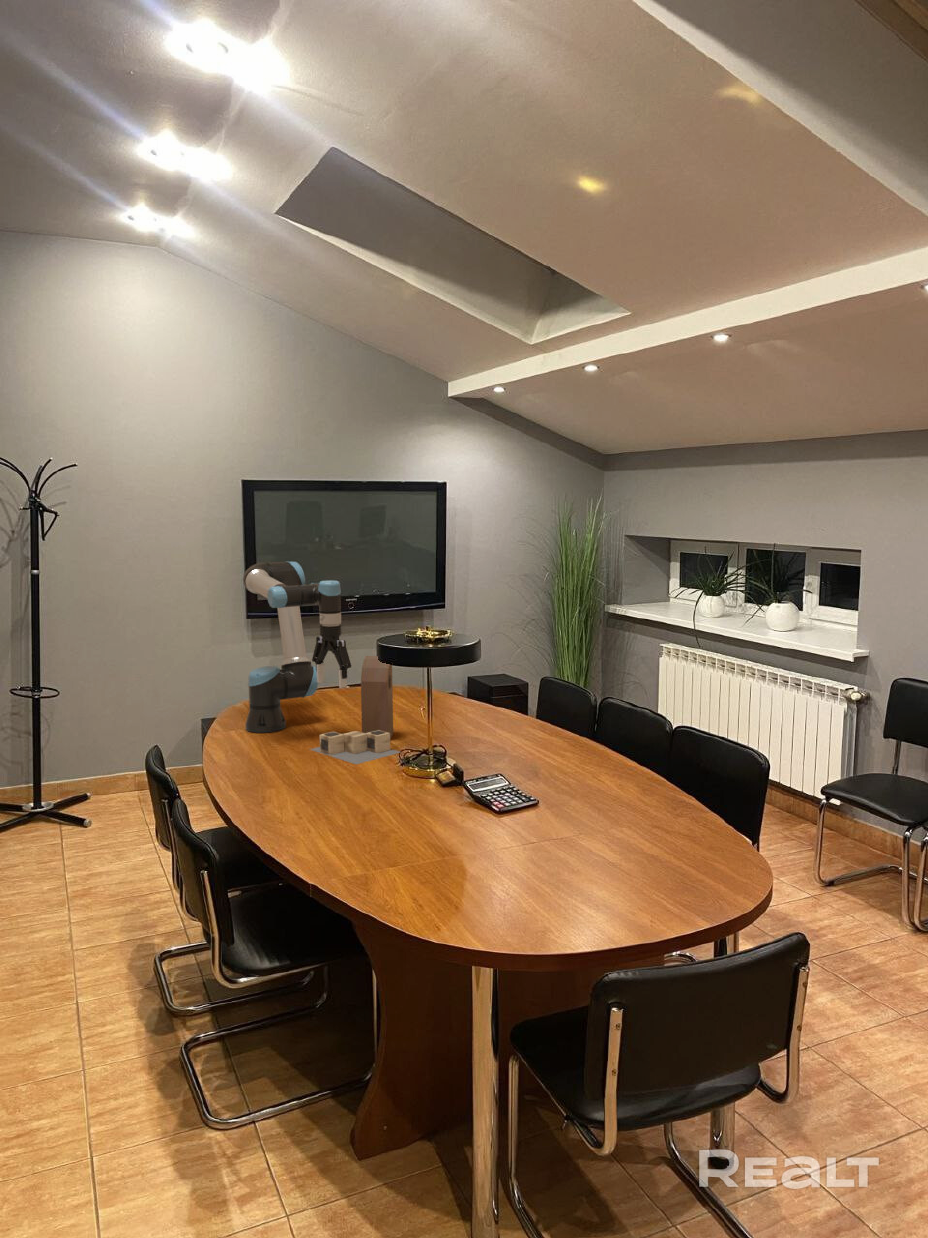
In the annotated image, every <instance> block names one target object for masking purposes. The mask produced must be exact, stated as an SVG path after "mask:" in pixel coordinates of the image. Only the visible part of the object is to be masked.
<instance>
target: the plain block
mask: <svg viewBox="0 0 928 1238" xmlns="http://www.w3.org/2000/svg"><path fill="white" fill-rule="evenodd" d="M342 734H343V735H344V751H345V752H349V753H352V754H356V753H360V752H364V751H367V734H366V733H362V731H358V730H355V731H354V730H353V731H350V732H346V733H342Z"/></svg>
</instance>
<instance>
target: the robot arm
mask: <svg viewBox="0 0 928 1238" xmlns="http://www.w3.org/2000/svg"><path fill="white" fill-rule="evenodd" d="M302 567H303V566H301V565H300V563H298V562H297V561H288V560H287V561H273V562H272V561H271V562H270V561H269V562H259V563H255V564H253V565H251V566H249V568H246V569H247V570H245V572H244V574H243V577H242V582H243V583H242V584H243V585H244V587H245V589H246V590H247V591H248V592H250V593H252V594H254V595H255V594H256V595H261V596H263V597H264V598H266V599H267V603H268V604H269V607H270V608H272V609H277V615H278V616H277V617H278V622H279V629H280V636H281V637H280V638H281V645H282V652H283V662H282V663H281V664H280V666H281V669H280V667H279V666H277V665H271V666H261V667H257V668H255V669H253V670H251V671H250V672H249V673H248V682H247V683H248V684H247V685H248V699H249V700H248V703H249V711H248V712H247V717H246V722H245V730H246V731H247V732H249V733H257V734H259V733H260V734H266V733H274V732H279V731H283V730H284V729H286V727H287V725H286V719H285V717H284V713H283V710H282V708H281V700H289V699H298V698H306V697H311V696H314V694H315V693H316V692H317V690H318V685H319V683H323V682H325V679H326V678H325V663H324V660H325V658H326V656H327V654H328V653H329V652H331V654H333V655H334V658H335V659H336V661H337V664H338V666H339V669H338V682H339V684H338V685H339V686H338V687H339V688H340V689H342V688H347V687H348V683H347V679H348V669H350V668H352V663H351V660H350V659H351V658H350V656H349V653H348V649H347V643H346V642H347V641H346V640H345V639H344V640H340V636H341V635H342V625H341V624H342V611H341V610H342V609H341V608H342V606H341V600H342V597H341V596H342V595H341V594H342V590H341V584H340V581H338V580H333V579H332V580H321V581H320V582H312V583H310V584H306V577H305V572H304V570H303V568H302ZM306 606H307V607H308V606H318V608H319V609H318V611H319V624H320V625H319V635H320V636H316V638H315V639H316V640H315V645H314V646H315V647H314V651H313V655H312V658H311V660H310V659H309V658H308V657H307V651H306V645H305V644H306V642H305V638H304V637H305V636H304V631H303V630H304V629H303V622H302V617H301V616H302V615H301V609H300V608H301V607H306ZM312 662H314V663H315V665H316V666H314V665H312Z"/></svg>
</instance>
